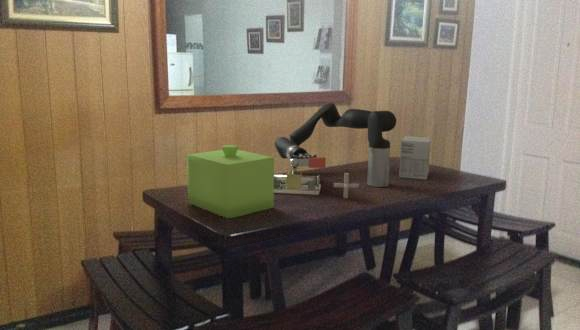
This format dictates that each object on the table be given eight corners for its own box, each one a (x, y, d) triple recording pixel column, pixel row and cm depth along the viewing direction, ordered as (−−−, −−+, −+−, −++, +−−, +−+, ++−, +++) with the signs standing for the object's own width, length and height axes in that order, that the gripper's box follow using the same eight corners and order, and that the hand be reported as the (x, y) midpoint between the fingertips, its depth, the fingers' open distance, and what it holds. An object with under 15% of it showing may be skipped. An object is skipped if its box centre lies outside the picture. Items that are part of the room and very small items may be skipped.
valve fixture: (320, 187, 221) (321, 165, 219) (318, 194, 209) (319, 171, 207) (270, 185, 223) (271, 163, 221) (266, 192, 211) (266, 168, 209)
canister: (188, 204, 193) (186, 144, 188) (232, 194, 208) (232, 139, 203) (228, 219, 176) (227, 153, 171) (273, 207, 190) (274, 147, 185)
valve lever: (290, 168, 212) (290, 158, 211) (289, 166, 216) (290, 157, 215) (325, 168, 213) (325, 158, 212) (324, 166, 217) (324, 157, 216)
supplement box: (427, 180, 239) (429, 142, 235) (398, 177, 243) (400, 140, 239) (428, 172, 255) (431, 137, 251) (402, 170, 259) (404, 135, 255)
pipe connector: (357, 194, 210) (358, 171, 208) (358, 201, 200) (359, 176, 198) (333, 193, 211) (334, 170, 209) (333, 200, 201) (333, 175, 199)
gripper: (309, 161, 235) (325, 170, 219) (282, 163, 230) (297, 172, 214) (310, 145, 233) (326, 153, 217) (283, 147, 228) (297, 154, 212)
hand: (311, 162), depth 216 cm, fingers closed
